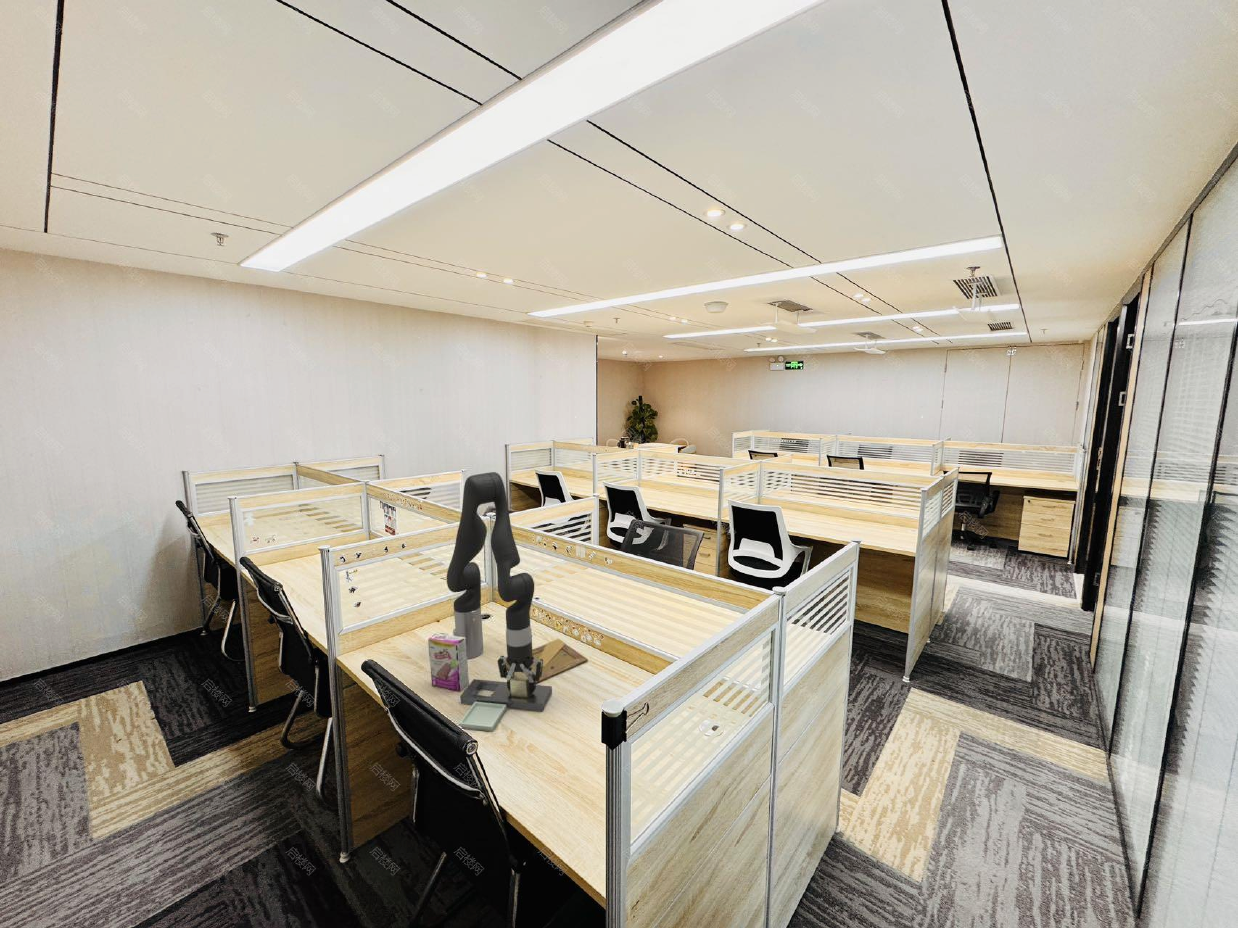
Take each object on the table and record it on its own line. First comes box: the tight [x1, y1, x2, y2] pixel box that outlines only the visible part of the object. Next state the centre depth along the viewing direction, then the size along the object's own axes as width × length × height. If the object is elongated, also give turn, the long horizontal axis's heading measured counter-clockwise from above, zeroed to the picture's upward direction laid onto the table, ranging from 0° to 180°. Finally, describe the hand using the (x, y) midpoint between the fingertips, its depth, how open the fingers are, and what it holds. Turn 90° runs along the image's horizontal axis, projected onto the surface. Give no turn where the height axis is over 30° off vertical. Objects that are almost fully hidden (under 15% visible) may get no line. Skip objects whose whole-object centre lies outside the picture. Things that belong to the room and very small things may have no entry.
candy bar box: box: [427, 632, 470, 692], centre depth 162 cm, size 11×5×16 cm, turn 71°
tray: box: [458, 702, 508, 733], centre depth 146 cm, size 10×10×2 cm
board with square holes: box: [459, 678, 553, 713], centre depth 155 cm, size 26×9×2 cm, turn 80°
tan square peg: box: [510, 672, 532, 700], centre depth 154 cm, size 5×5×8 cm
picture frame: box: [506, 638, 589, 685], centre depth 175 cm, size 19×2×24 cm
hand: (521, 690), depth 154 cm, fingers open, 6 cm apart
